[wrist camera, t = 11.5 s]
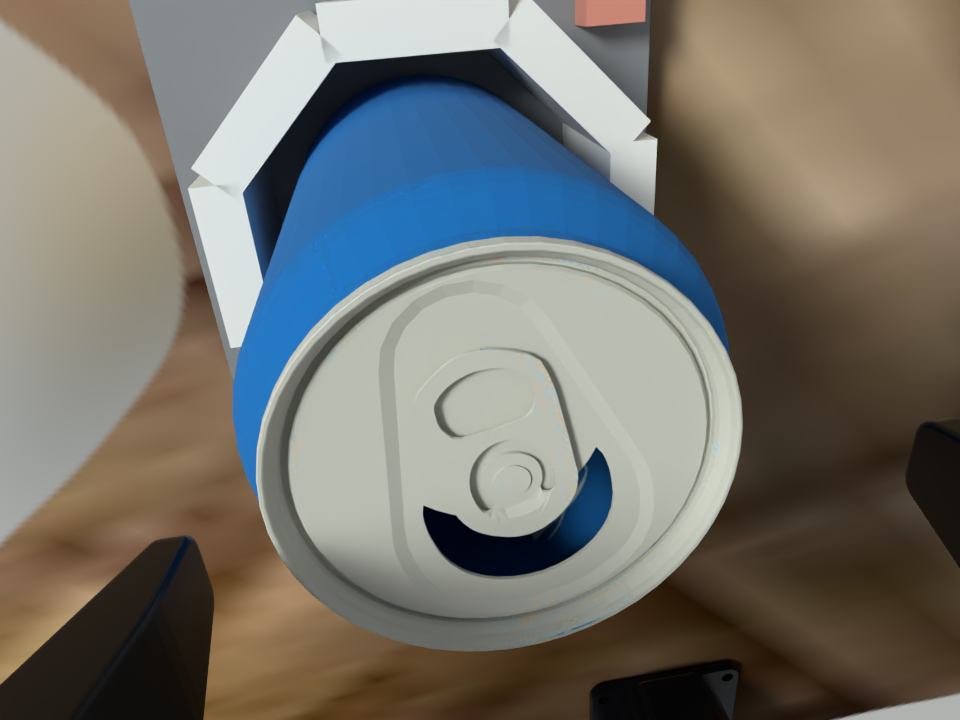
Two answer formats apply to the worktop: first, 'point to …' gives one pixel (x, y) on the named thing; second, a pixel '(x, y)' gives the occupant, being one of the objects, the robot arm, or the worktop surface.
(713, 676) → the robot arm
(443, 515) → the beverage can
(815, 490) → the worktop surface
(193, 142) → the socket
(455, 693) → the worktop surface
